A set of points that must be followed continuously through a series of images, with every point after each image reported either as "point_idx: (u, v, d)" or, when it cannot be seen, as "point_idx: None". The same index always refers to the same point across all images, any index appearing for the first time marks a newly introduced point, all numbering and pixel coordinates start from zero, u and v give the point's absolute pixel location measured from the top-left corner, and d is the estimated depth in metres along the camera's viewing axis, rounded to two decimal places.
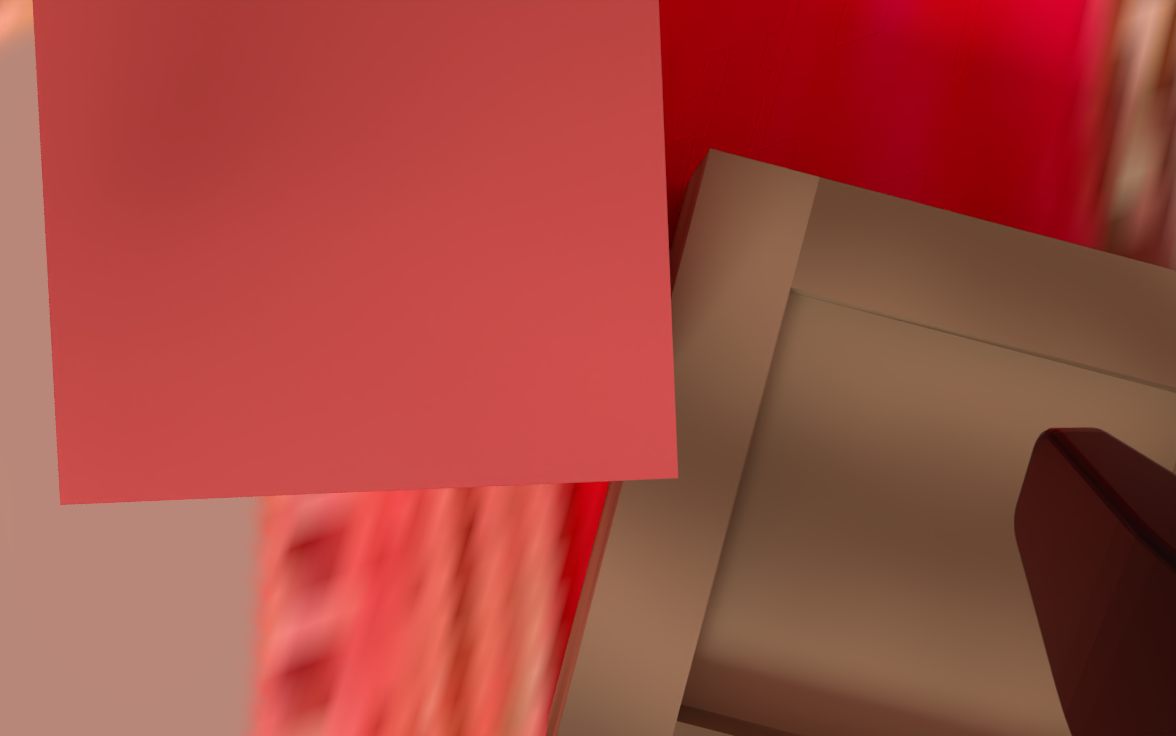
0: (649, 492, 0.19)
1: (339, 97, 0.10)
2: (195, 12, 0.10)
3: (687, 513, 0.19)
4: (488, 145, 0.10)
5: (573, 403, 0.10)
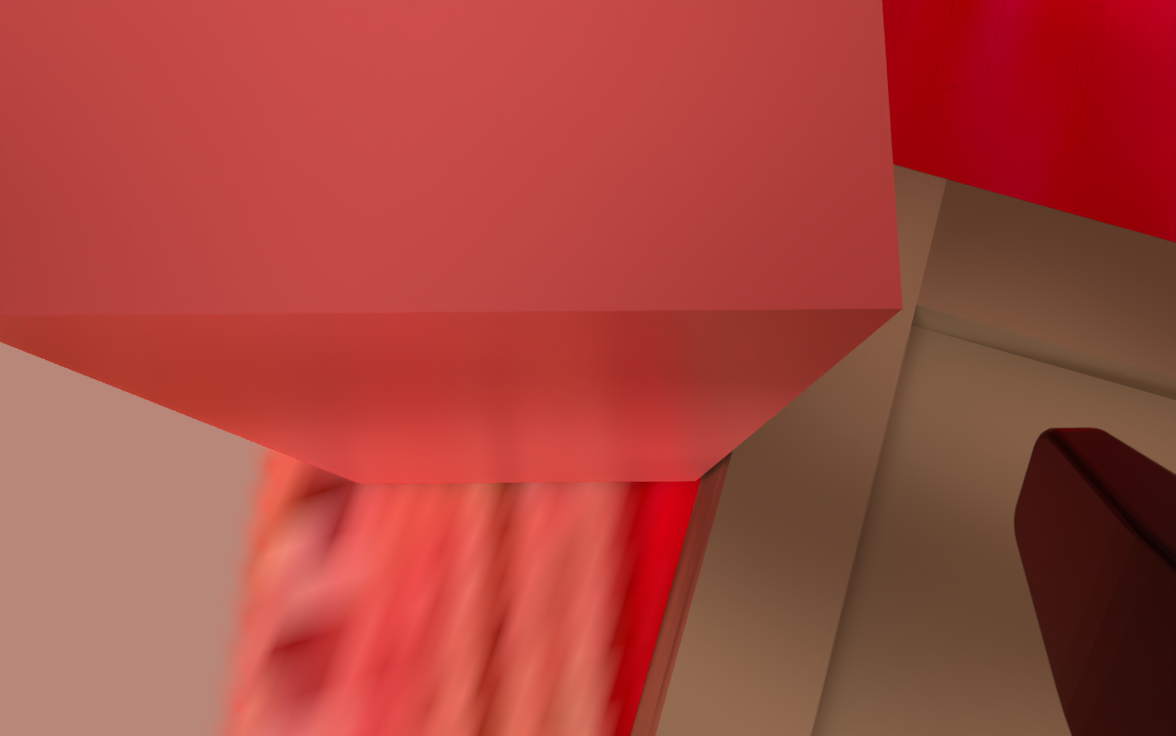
0: (742, 553, 0.15)
1: None
2: None
3: (791, 583, 0.15)
4: None
5: (739, 189, 0.07)
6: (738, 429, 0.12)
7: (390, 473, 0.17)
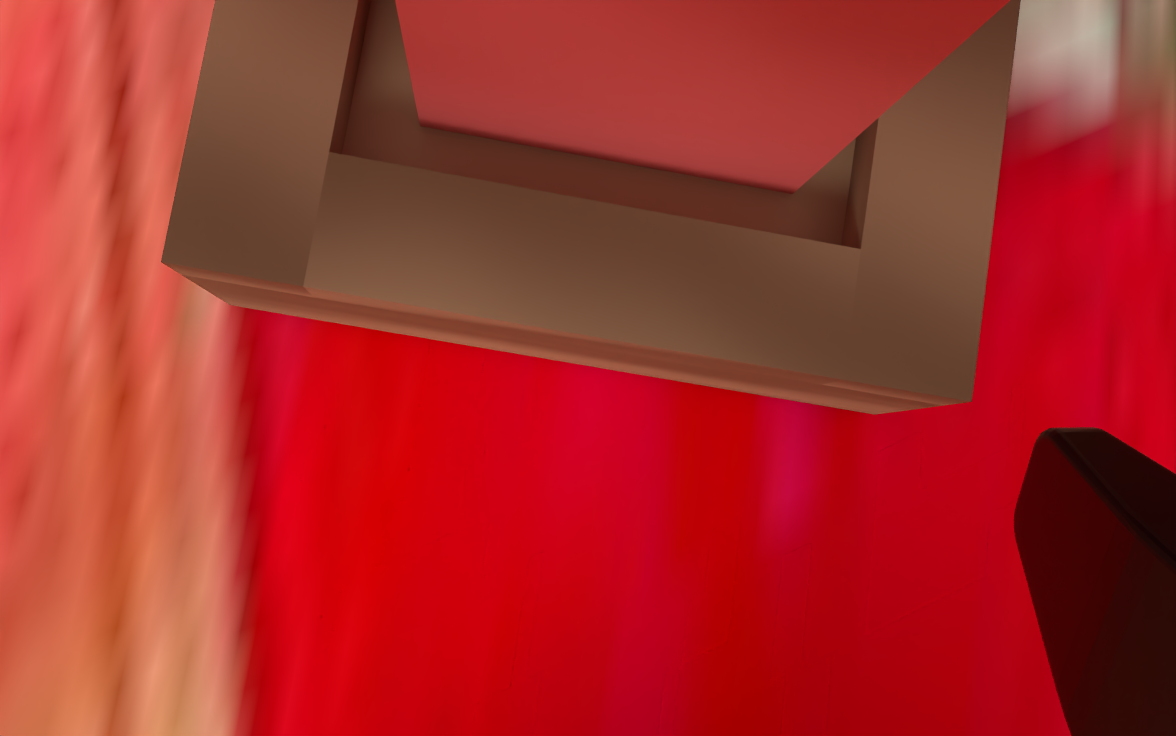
0: None
1: None
2: None
3: None
4: None
5: None
6: (978, 3, 0.10)
7: (476, 93, 0.15)
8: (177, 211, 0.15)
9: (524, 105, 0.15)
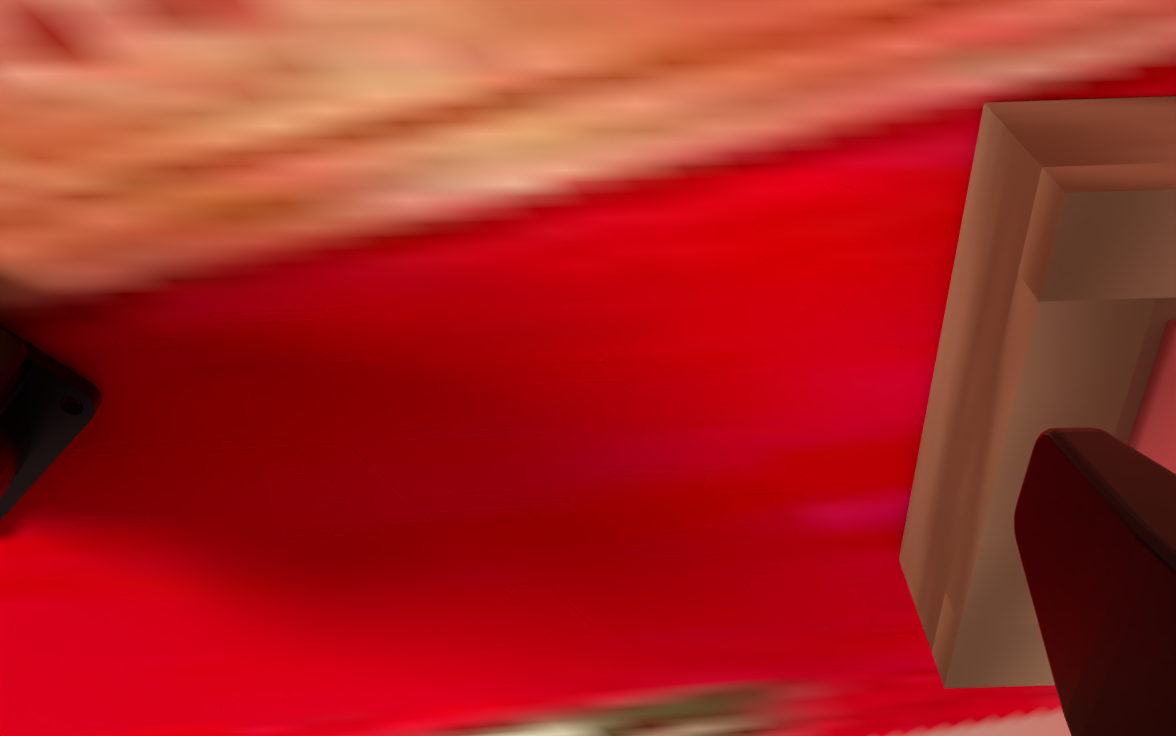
0: None
1: None
2: None
3: None
4: None
5: None
6: None
7: None
8: (1111, 195, 0.17)
9: None
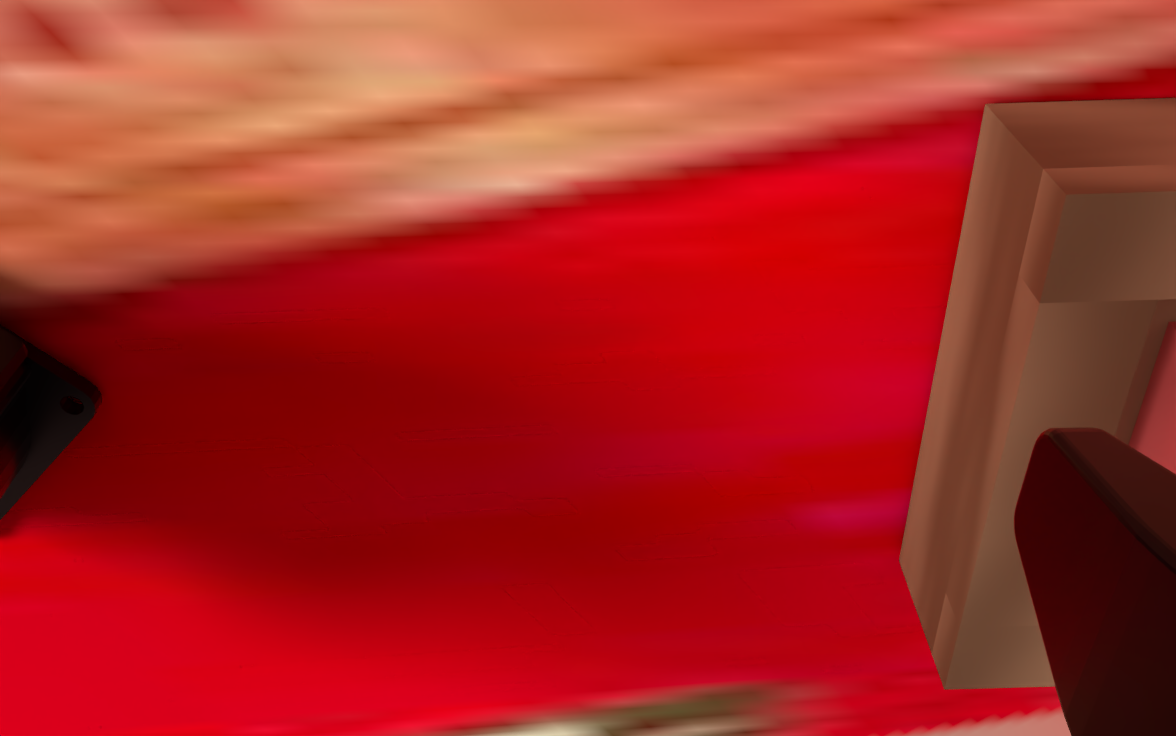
0: None
1: None
2: None
3: None
4: None
5: None
6: None
7: None
8: (1112, 196, 0.17)
9: None
